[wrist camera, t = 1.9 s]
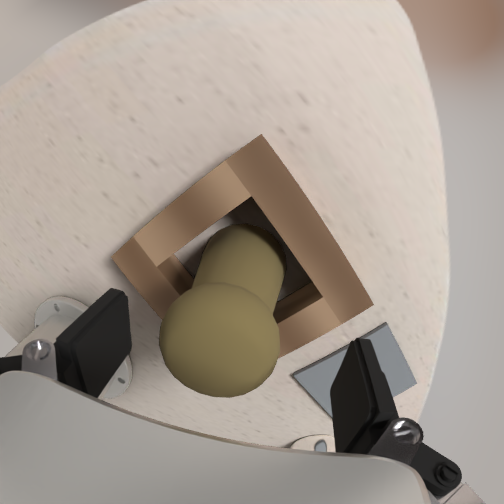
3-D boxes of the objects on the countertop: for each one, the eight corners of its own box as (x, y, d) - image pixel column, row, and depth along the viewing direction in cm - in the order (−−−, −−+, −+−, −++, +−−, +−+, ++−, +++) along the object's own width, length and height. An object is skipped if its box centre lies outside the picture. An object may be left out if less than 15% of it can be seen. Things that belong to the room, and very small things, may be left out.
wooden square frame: (229, 360, 24) (223, 383, 21) (130, 243, 21) (110, 256, 18) (362, 285, 20) (373, 304, 18) (264, 137, 18) (261, 134, 15)
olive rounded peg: (282, 306, 22) (281, 422, 11) (202, 298, 22) (150, 403, 12) (290, 227, 20) (302, 308, 9) (202, 220, 20) (128, 289, 10)
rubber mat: (337, 421, 25) (338, 423, 25) (293, 372, 24) (293, 376, 23) (415, 380, 23) (417, 383, 23) (386, 322, 21) (387, 324, 21)
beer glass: (281, 436, 27) (274, 558, 13) (344, 427, 26) (360, 548, 12) (289, 464, 29) (286, 565, 15) (344, 456, 28) (355, 557, 14)
